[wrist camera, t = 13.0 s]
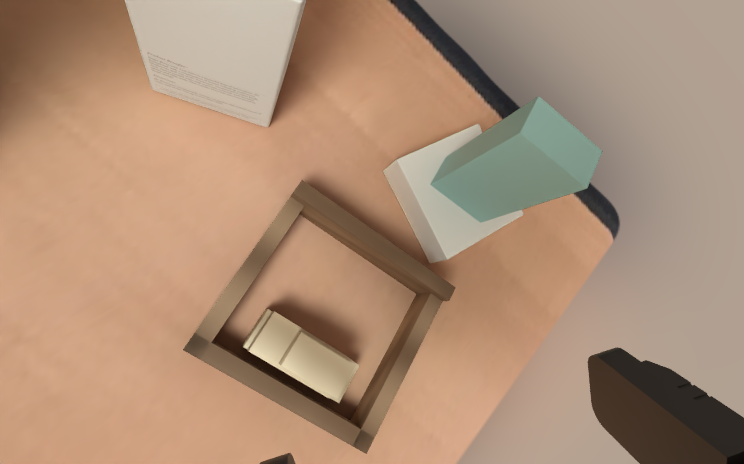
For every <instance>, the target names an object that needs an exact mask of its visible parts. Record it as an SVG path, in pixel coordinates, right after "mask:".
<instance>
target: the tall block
mask: <svg viewBox="0 0 744 464" xmlns="http://www.w3.org/2000/svg"><path fill="white" fill-rule="evenodd" d="M601 154H602V151H601V149H599V148H598V147H597V146H596V145H595V144H594V143H592V142H591V141H590V140H589V139H588V138H586V137H585V136H584V135H583V134H582V133H581V132H580V131H578V130H577V129H576V128H575V127H574V126H573V125H572V124H570V123H569V122H568V121H567V120H566V119H565V118H564V117H562V116H561V115H560V114H559V113H558V112H557V111H556V110H554V109H553V108H552V107H551V106H550V105H549V104H547V103H546V102H545V101H544V100H543V99H542V98H540V97H539V96H538V97H537V98H535V99H534V100H532V101H531V102H529V103H528V104H526V105H524V106H523V107H521V108H520V109H518V110H517V111H515V112H514V113H512V114H511V115H509V116H508V117H506V118H505V119H503V120H501V121H500V122H498V123H497V124H495V125H494V126H492V127H491V128H489V129H488V130H486V131H485V132H483V133H482V134H480V135H479V136H477V137H476V138H474V139H473V140H471V141H469V142H468V143H466V144H465V145H463V146H462V147H460V148H459V149H457V150H456V151H454V152H453V153H451V154H450V155H448V156H447V157H445V159H444V161H443V163H442V164H441V166H440V168H439V170H438V171H437V173H436V175H435V177H434V178H433V180H432V182H431V184H430V185H431V186H432V187H434V188H435V189H436V190H438V191H439V192H440V193H442V194H443V195H444V196H446V197H447V198H448V199H450V200H451V201H452V202H454V203H455V204H456V205H458V206H459V207H460V208H462V209H463V210H464V211H466V212H467V213H468V214H470V215H471V216H472V217H474V218H475V219H476V220H478V221H479V222H480V223H481V222H485V221H488V220H491V219H494V218H497V217H500V216H503V215H506V214H509V213H512V212H516V211H519V210H522V209H525V208H528V207H531V206H534V205H537V204H540V203H544V202H547V201H550V200H553V199H556V198H559V197H562V196H565V195H568V194H571V193H575V192H578V191H581V190H584V189H587V188H588V185H589V183H590V180H591V178H592V175H593V173H594V171H595V168H596V166H597V163H598V161H599V158H600V156H601Z"/></svg>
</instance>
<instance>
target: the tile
mask: <svg viewBox="0 0 744 464" xmlns="http://www.w3.org/2000/svg"><path fill="white" fill-rule="evenodd" d="M482 133H483V132H482V130H481V128H480V126H479V124H476V125H473V126H471V127H469V128H467V129H464V130H462V131H460V132H458V133H455V134H453V135H451V136H449V137H446V138H444V139H442V140H440V141H437V142H435V143H433V144H431V145H428V146H426V147H424V148H422V149H419V150H417V151H415V152H413V153H410V154H408V155H406V156H404V157H401V158H399V159H397V160H395V161H394V162H393V163H392V164H391V165H389V166H388V167H387V168H386V169H384V170H383V172H384V174H385V176H386V178H387V180H388V182H389V184H390V186H391V188H392V190H393V192H394V194H395V196H396V198H397V200H398V202H399V204H400V206H401V208H402V210H403V212H404V214H405V216H406V218H407V220H408V222H409V224H410V226H411V227H412V229H413V231H414V233H415V235H416V237H417V239H418V241H419V243H420V245H421V247H422V249H423V251H424V253H425V255H426V257H427V259H428V261H429V263H434V262H439V261H444V260H448V259H449V258H451V257H453V256H454V255H456V254H458V253H459V252H461V251H463V250H465V249H466V248H468V247H470V246H471V245H473V244H475V243H476V242H478V241H480V240H481V239H483V238H485V237H487V236H488V235H490V234H492V233H493V232H495V231H497V230H498V229H500V228H502V227H503V226H505V225H507V224H509V223H510V222H512V221H514V220H515V219H517V218H519V217H520V216H522V215H524V213H523V211H522V210H519V211H516V212H512V213H509V214H506V215H503V216H500V217H497V218H494V219H491V220H488V221H485V222H481V223H480V222H479V221H478V220H476V219H475V218H474V217H472V216H471V215H470V214H468V213H467V212H466V211H464V210H463V209H462V208H460V207H459V206H458V205H456V204H455V203H454V202H452V201H451V200H450V199H448V198H447V197H446V196H444V195H443V194H442V193H440V192H439V191H438V190H436V189H435V188H434V187H432V186H431V185H430V184H431V182H432V180H433V178H434V177H435V175H436V173H437V171H438V170H439V168H440V166H441V164H442V163H443V161H444V159H445V157H447V156H448V155H450V154H451V153H453V152H454V151H456V150H457V149H459V148H460V147H462V146H463V145H465V144H466V143H468V142H469V141H471V140H473V139H474V138H476V137H477V136H479V135H480V134H482Z"/></svg>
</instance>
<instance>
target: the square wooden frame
mask: <svg viewBox="0 0 744 464" xmlns="http://www.w3.org/2000/svg"><path fill="white" fill-rule="evenodd" d="M299 214H300V215H302V216H303V217H305V218H306V219H308V220H309V221H311V222H312V223H313V224H315V225H316V226H318V227H319V228H321V229H322V230H324V231H325V232H327V233H328V234H330V235H331V236H333V237H334V238H335V239H337V240H338V241H340V242H341V243H343V244H344V245H346V246H347V247H349V248H350V249H352V250H353V251H355V252H356V253H358V254H359V255H360V256H362V257H363V258H365V259H366V260H368V261H369V262H371V263H372V264H374V265H375V266H377V267H378V268H380V269H381V270H382V271H384V272H385V273H387V274H388V275H390V276H391V277H393V278H394V279H396V280H397V281H399V282H400V283H402V284H403V285H404V286H406V287H407V288H409V289H410V290H412V291H413V292H415V293H416V294H417V295H416V297H415V299H414V300H413V302H412V304H411V306H410V308H409V310H408V312H407V314H406V316H405V318H404V320H403V321H402V323H401V325H400V327H399V329H398V331H397V333H396V335H395V337H394V339H393V340H392V342H391V344H390V346H389V348H388V350H387V352H386V354H385V356H384V358H383V360H382V361H381V363H380V365H379V367H378V369H377V371H376V373H375V375H374V377H373V379H372V380H371V382H370V384H369V386H368V388H367V390H366V392H365V394H364V396H363V398H362V400H361V401H360V403H359V405H358V407H357V409H356V411H355V413H354V415H353V417H352V419H351V420H349V419H347V418H345V417H343V416H342V415H340V414H338V413H337V412H335V411H333V410H331V409H330V408H328V407H326V406H324V405H323V404H321V403H319V402H318V401H316V400H314V399H312V398H311V397H309V396H307V395H306V394H304V393H302V392H300V391H299V390H297V389H295V388H294V387H292V386H290V385H288V384H287V383H285V382H283V381H282V380H280V379H278V378H276V377H275V376H273V375H271V374H269V373H268V372H266V371H264V370H263V369H261V368H259V367H257V366H256V365H254V364H252V363H251V362H249V361H247V360H245V359H244V358H242V357H240V356H239V355H237V354H235V353H233V352H232V351H230V350H228V349H227V348H225V347H223V346H221V345H220V344H218V343H216V342H214V341H213V339H214V338H215V336H216V335H217V333H218V332H219V330H220V329H221V328H222V326H223V325H224V323H225V322H226V320H227V319H228V317H229V316H230V314H231V313H232V311H233V310H234V308H235V307H236V306H237V304H238V303H239V301H240V300H241V298H242V297H243V295H244V294H245V292H246V291H247V289H248V288H249V286H250V285H251V284H252V282H253V281H254V279H255V278H256V276H257V275H258V273H259V272H260V270H261V269H262V267H263V266H264V264H265V263H266V262H267V260H268V259H269V257H270V256H271V254H272V253H273V251H274V250H275V248H276V247H277V245H278V244H279V242H280V241H281V240H282V238H283V237H284V235H285V234H286V232H287V231H288V229H289V228H290V226H291V225H292V223H293V222H294V220H295V219H296V218H297V216H298V215H299ZM454 290H455V287H454V286H453V285H451V284H450V283H448V282H447V281H445V280H444V279H443V278H441V277H440V276H438V275H437V274H435V273H434V272H433V271H431V270H430V269H428V268H427V267H425V266H424V265H423V264H421V263H420V262H418V261H417V260H415V259H414V258H413V257H411V256H410V255H408V254H407V253H406V252H404V251H403V250H401V249H400V248H398V247H397V246H396V245H394V244H393V243H391V242H390V241H388V240H387V239H386V238H384V237H383V236H381V235H380V234H378V233H377V232H376V231H374V230H373V229H371V228H370V227H368V226H367V225H366V224H364V223H363V222H361V221H360V220H358V219H357V218H356V217H354V216H353V215H351V214H350V213H348V212H347V211H346V210H344V209H343V208H341V207H340V206H339V205H337V204H336V203H334V202H333V201H331V200H330V199H329V198H327V197H326V196H324V195H323V194H321V193H320V192H319V191H317V190H316V189H314V188H313V187H311V186H310V185H309V184H307V183H306V182H304V181H303V180H302V181H301V182H300V184H299V185H298V187H297V188H296V190H295V191H294V192H293V194H292V195H291V197H290V198H289V200H288V201H287V202H286V204H285V205H284V207H283V208H282V210H281V211H280V212H279V214H278V215H277V217H276V218H275V220H274V221H273V222H272V224H271V225H270V227H269V228H268V230H267V231H266V232H265V234H264V235H263V237H262V238H261V239H260V241H259V242H258V244H257V245H256V247H255V248H254V249H253V251H252V252H251V254H250V255H249V257H248V258H247V259H246V261H245V262H244V264H243V265H242V267H241V268H240V269H239V271H238V272H237V274H236V275H235V277H234V278H233V279H232V281H231V282H230V284H229V285H228V286H227V288H226V289H225V291H224V292H223V294H222V295H221V296H220V298H219V299H218V301H217V302H216V304H215V305H214V306H213V308H212V309H211V311H210V312H209V314H208V315H207V316H206V318H205V319H204V321H203V322H202V324H201V325H200V326H199V328H198V329H197V331H196V332H195V333H194V335H193V336H192V338H191V339H190V341H189V342H188V343H187V345H186V346H185V348H184V349H183V350H184V351H186V352H188V353H190V354H191V355H193V356H195V357H197V358H198V359H200V360H202V361H204V362H205V363H207V364H209V365H211V366H212V367H214V368H216V369H218V370H219V371H221V372H223V373H225V374H227V375H228V376H230V377H232V378H234V379H235V380H237V381H239V382H241V383H242V384H244V385H246V386H248V387H249V388H251V389H253V390H255V391H256V392H258V393H260V394H262V395H264V396H265V397H267V398H269V399H271V400H272V401H274V402H276V403H278V404H279V405H281V406H283V407H285V408H286V409H288V410H290V411H292V412H293V413H295V414H297V415H299V416H301V417H302V418H304V419H306V420H308V421H309V422H311V423H313V424H315V425H316V426H318V427H320V428H322V429H323V430H325V431H327V432H329V433H330V434H332V435H334V436H336V437H338V438H339V439H341V440H343V441H345V442H346V443H348V444H350V445H352V446H353V447H355V448H357V449H359V450H360V451H362V452H364V453H366V454H367V452H368V450H369V448H370V446H371V444H372V442H373V440H374V438H375V436H376V434H377V432H378V430H379V428H380V426H381V424H382V422H383V420H384V418H385V416H386V414H387V412H388V410H389V408H390V405H391V403H392V401H393V399H394V397H395V395H396V393H397V391H398V389H399V387H400V385H401V383H402V381H403V379H404V377H405V375H406V373H407V371H408V369H409V367H410V365H411V363H412V361H413V359H414V357H415V355H416V353H417V351H418V349H419V347H420V345H421V343H422V341H423V339H424V337H425V335H426V333H427V331H428V329H429V327H430V325H431V323H432V321H433V319H434V317H435V315H436V313H437V311H438V309H439V307H440V305H441V303H442V301H449V300H450V298H451V296H452V294H453V292H454Z"/></svg>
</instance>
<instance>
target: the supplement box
mask: <svg viewBox="0 0 744 464" xmlns="http://www.w3.org/2000/svg"><path fill="white" fill-rule="evenodd" d="M125 3H126V7H127V10H128V13H129V16H130V19H131V23H132V26H133V29H134V32H135V36H136V39H137V42H138V46H139V49H140V52H141V56H142V59H143V62H144V66H145V69H146V72H147V75H148V79H149V82H150V86H151V88H152V89H153V90H154V91H157V92H160V93H163V94H166V95H169V96H172V97H175V98H178V99H181V100H184V101H187V102H190V103H193V104H196V105H199V106H202V107H206V108H209V109H212V110H215V111H218V112H221V113H224V114H227V115H230V116H233V117H236V118H239V119H242V120H245V121H248V122H251V123H254V124H257V125H260V126H263V127H269V125H270V122H271V118H272V115H273V112H274V109H275V106H276V102H277V99H278V96H279V93H280V89H281V86H282V83H283V80H284V76H285V73H286V70H287V67H288V63H289V60H290V56H291V53H292V50H293V46H294V43H295V39H296V36H297V32H298V29H299V25H300V22H301V18H302V15H303V11H304V7H305V4H306V0H125Z"/></svg>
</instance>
